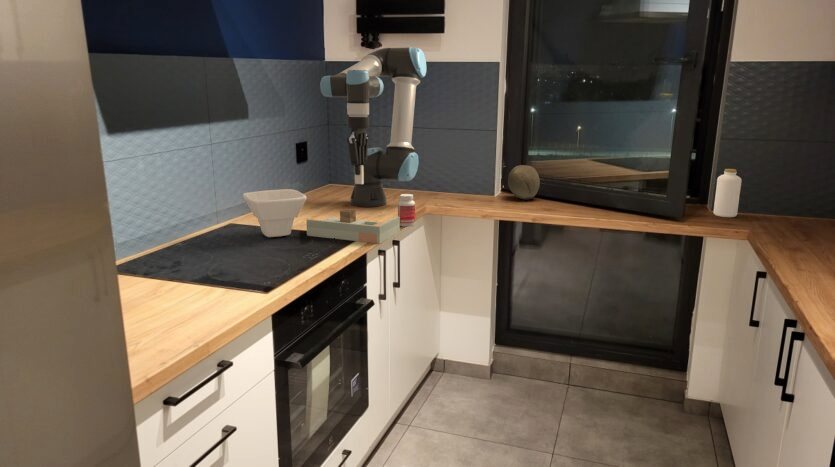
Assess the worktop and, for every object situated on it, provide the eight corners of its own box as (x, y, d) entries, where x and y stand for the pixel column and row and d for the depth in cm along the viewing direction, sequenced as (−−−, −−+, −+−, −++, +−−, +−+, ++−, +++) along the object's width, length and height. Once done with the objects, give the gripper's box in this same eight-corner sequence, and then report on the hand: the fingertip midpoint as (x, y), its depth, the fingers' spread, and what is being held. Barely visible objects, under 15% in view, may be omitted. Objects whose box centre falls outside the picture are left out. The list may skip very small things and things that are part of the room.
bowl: (255, 245, 198) (252, 202, 195) (242, 232, 215) (239, 192, 212) (312, 239, 207) (310, 197, 203) (295, 226, 223) (293, 188, 220)
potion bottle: (736, 214, 245) (742, 168, 241) (737, 218, 238) (743, 171, 234) (713, 212, 249) (718, 167, 244) (713, 216, 241) (718, 170, 237)
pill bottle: (418, 225, 225) (418, 195, 223) (404, 227, 222) (403, 197, 219) (409, 222, 230) (409, 192, 228) (394, 224, 227) (394, 194, 224)
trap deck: (330, 225, 225) (330, 210, 224) (399, 232, 216) (399, 216, 214) (307, 235, 211) (306, 219, 210) (379, 243, 201) (379, 226, 200)
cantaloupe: (544, 198, 277) (545, 164, 273) (531, 203, 265) (533, 168, 262) (514, 195, 284) (515, 162, 281) (501, 200, 273) (502, 165, 269)
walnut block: (345, 219, 221) (345, 208, 220) (355, 220, 219) (355, 209, 218) (340, 222, 217) (339, 210, 216) (350, 223, 216) (350, 211, 215)
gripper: (357, 114, 223) (358, 180, 229) (339, 116, 211) (341, 185, 217) (376, 115, 220) (376, 181, 226) (359, 117, 209) (360, 187, 214)
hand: (359, 183), depth 221 cm, fingers closed
